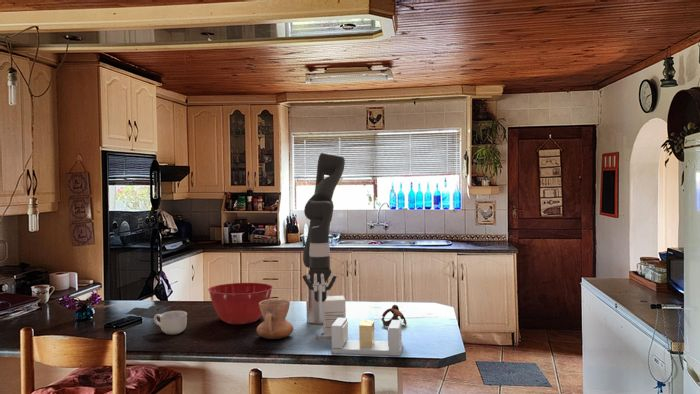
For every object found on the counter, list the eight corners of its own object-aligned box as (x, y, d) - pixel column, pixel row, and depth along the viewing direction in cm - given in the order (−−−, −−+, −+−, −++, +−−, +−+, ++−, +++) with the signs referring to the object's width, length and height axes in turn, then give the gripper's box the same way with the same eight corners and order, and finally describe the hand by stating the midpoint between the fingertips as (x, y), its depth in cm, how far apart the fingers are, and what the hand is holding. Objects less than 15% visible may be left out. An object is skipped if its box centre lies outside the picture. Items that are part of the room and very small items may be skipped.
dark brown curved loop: (408, 330, 225) (397, 319, 221) (389, 337, 229) (378, 327, 225) (408, 308, 234) (397, 297, 230) (390, 315, 238) (379, 305, 234)
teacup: (192, 330, 226) (192, 311, 226) (176, 337, 216) (175, 317, 216) (165, 328, 231) (164, 309, 231) (148, 334, 221) (147, 315, 221)
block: (359, 347, 192) (359, 325, 192) (362, 342, 199) (362, 320, 199) (372, 347, 192) (371, 325, 191) (374, 342, 198) (374, 320, 198)
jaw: (315, 347, 192) (315, 325, 192) (322, 338, 204) (322, 317, 204) (342, 348, 191) (342, 325, 191) (348, 339, 202) (348, 317, 202)
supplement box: (322, 332, 220) (322, 295, 220) (344, 331, 221) (344, 295, 220) (323, 338, 211) (322, 300, 211) (346, 337, 212) (345, 299, 211)
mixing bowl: (257, 311, 260) (257, 279, 260) (284, 323, 236) (283, 288, 236) (200, 320, 244) (199, 286, 244) (222, 333, 221) (221, 296, 220)
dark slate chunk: (143, 311, 266) (142, 302, 266) (178, 315, 257) (177, 305, 257) (118, 318, 252) (118, 308, 252) (155, 322, 243) (154, 312, 243)
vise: (331, 352, 191) (331, 326, 191) (338, 343, 203) (337, 318, 203) (400, 355, 187) (400, 328, 187) (403, 345, 199) (402, 320, 199)
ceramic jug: (265, 330, 224) (265, 296, 224) (298, 332, 221) (298, 297, 221) (248, 342, 206) (248, 306, 206) (284, 344, 203) (284, 307, 203)
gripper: (339, 253, 201) (340, 299, 202) (304, 253, 204) (305, 298, 204) (335, 256, 194) (336, 303, 194) (299, 255, 196) (300, 303, 196)
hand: (320, 301), depth 199 cm, fingers closed
